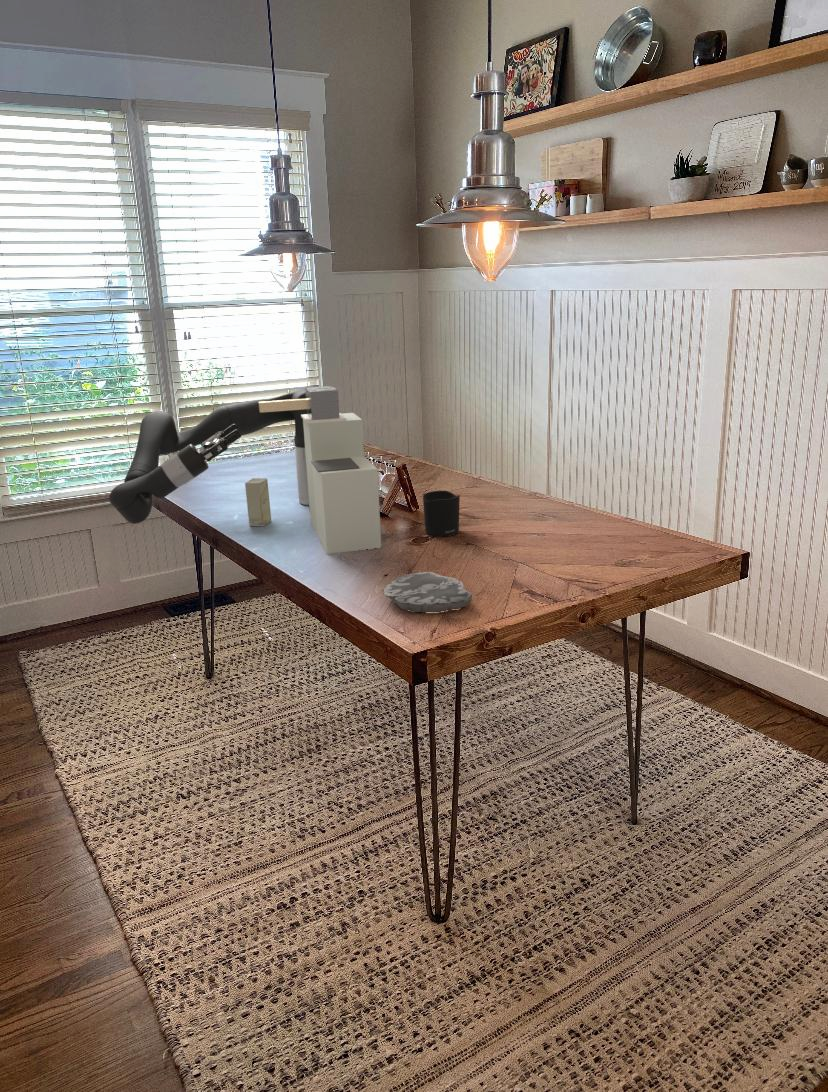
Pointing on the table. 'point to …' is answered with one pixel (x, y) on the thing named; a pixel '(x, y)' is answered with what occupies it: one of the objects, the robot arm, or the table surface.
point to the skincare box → (258, 501)
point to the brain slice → (427, 592)
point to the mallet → (309, 403)
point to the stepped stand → (341, 484)
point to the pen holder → (441, 513)
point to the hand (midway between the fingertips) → (238, 429)
